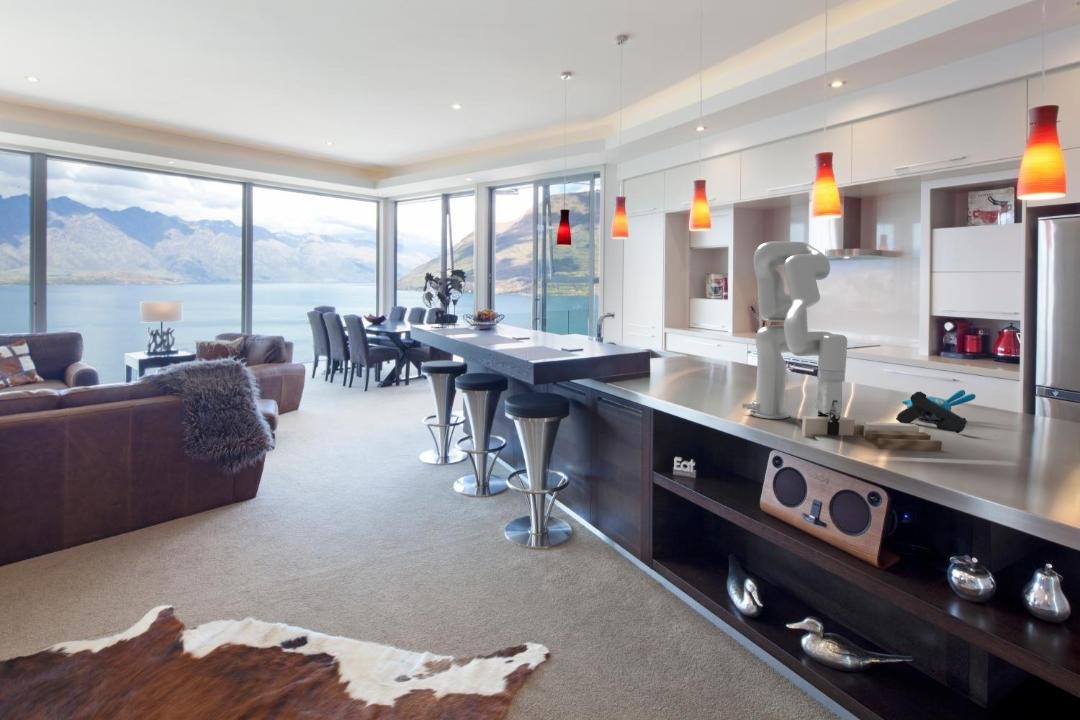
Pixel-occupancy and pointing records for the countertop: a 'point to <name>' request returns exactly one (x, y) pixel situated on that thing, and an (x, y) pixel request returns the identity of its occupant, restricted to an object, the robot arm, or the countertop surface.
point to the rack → (900, 440)
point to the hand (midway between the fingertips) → (827, 430)
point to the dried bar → (890, 427)
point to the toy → (946, 402)
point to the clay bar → (825, 426)
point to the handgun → (931, 413)
